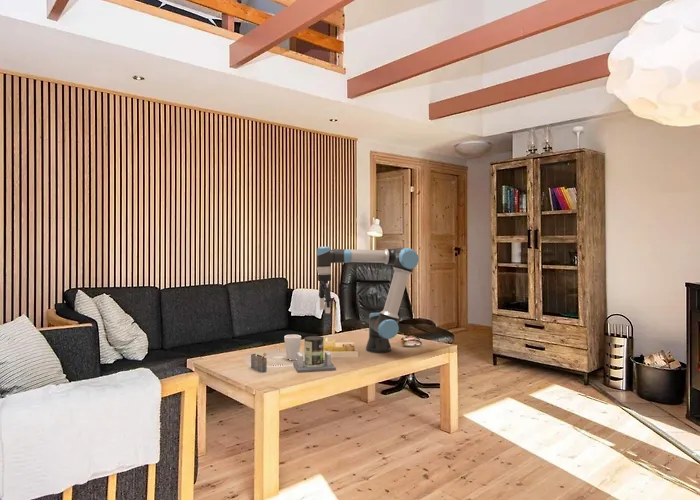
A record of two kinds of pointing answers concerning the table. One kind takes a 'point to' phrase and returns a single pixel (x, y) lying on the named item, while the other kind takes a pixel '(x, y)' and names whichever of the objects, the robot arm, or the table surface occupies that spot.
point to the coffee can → (313, 351)
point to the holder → (325, 367)
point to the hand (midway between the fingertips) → (325, 311)
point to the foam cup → (292, 346)
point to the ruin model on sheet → (259, 362)
